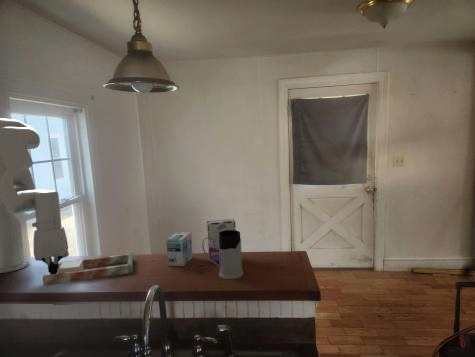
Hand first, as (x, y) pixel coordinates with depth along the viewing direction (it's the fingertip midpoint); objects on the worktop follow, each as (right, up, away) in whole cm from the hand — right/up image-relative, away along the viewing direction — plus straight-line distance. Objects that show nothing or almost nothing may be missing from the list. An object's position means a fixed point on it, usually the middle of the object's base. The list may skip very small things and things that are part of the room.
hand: (54, 273), depth 111 cm
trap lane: (+12, 0, +4) cm, 13 cm away
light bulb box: (+44, +1, +12) cm, 46 cm away
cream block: (+5, -1, +2) cm, 6 cm away
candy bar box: (+61, +2, +11) cm, 62 cm away
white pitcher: (+62, 0, -2) cm, 62 cm away
